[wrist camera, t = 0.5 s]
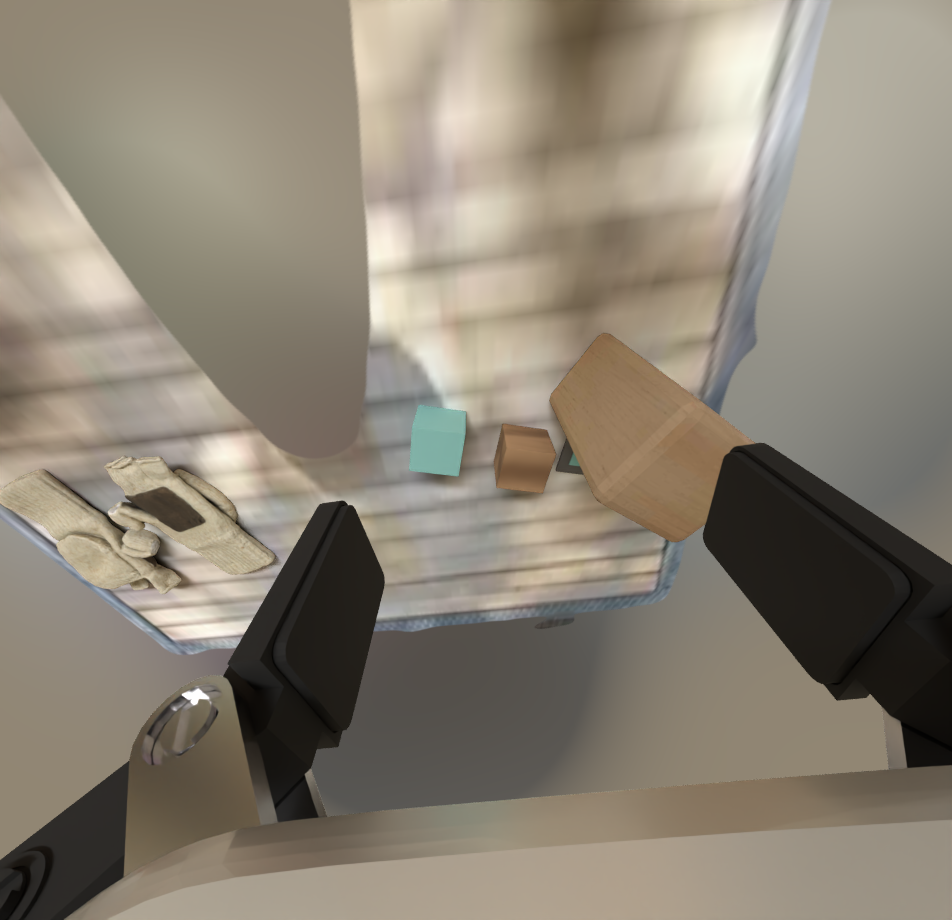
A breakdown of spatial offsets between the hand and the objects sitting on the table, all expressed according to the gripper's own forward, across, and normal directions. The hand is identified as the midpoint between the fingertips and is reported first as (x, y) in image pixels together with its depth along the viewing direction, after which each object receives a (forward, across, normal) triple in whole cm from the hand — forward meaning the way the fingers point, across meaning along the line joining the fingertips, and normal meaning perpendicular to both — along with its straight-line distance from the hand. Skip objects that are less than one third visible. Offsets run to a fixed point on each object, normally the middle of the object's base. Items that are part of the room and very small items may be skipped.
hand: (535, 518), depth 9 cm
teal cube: (+34, +8, +13) cm, 37 cm away
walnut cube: (+34, -3, +18) cm, 38 cm away
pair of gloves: (+35, +56, +23) cm, 70 cm away
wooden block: (+34, -13, +10) cm, 38 cm away
